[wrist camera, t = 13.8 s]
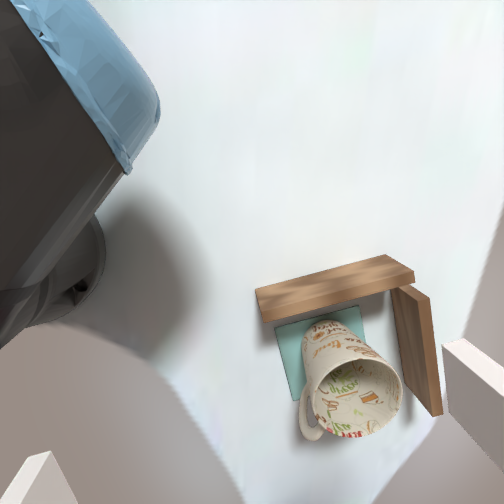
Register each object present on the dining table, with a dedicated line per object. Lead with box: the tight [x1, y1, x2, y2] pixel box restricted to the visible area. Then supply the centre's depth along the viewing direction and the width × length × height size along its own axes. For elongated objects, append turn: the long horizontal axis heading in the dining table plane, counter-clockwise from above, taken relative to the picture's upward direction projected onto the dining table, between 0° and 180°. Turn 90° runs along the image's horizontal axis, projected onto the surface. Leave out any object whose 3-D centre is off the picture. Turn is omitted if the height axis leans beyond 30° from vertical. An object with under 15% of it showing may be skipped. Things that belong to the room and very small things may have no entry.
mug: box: [299, 320, 403, 441], centre depth 37 cm, size 8×13×10 cm, turn 156°
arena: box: [255, 254, 443, 417], centre depth 38 cm, size 16×17×6 cm
